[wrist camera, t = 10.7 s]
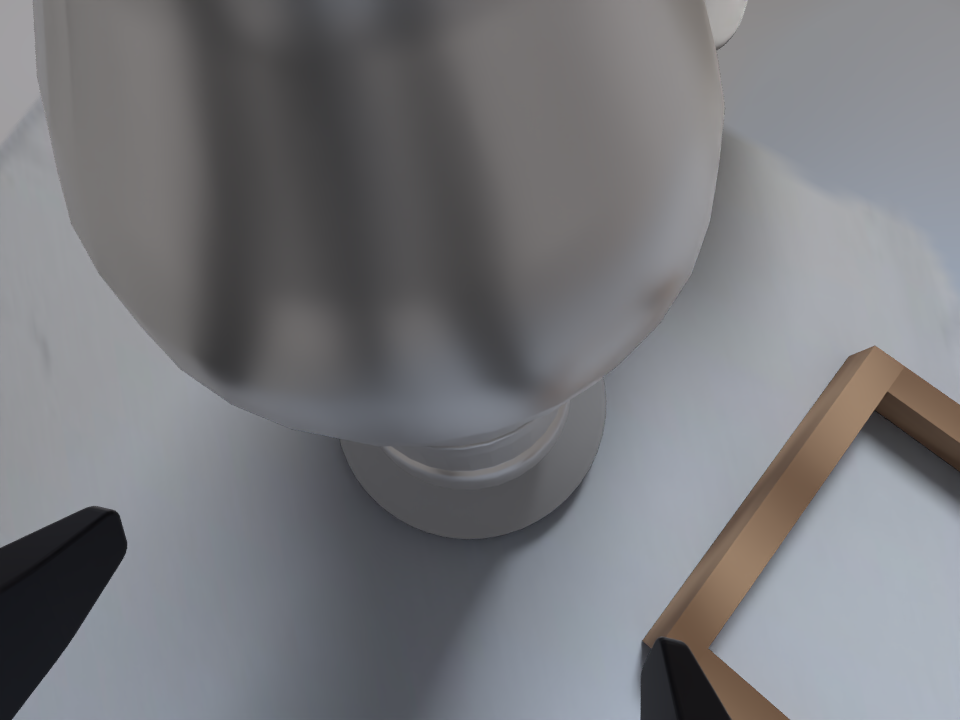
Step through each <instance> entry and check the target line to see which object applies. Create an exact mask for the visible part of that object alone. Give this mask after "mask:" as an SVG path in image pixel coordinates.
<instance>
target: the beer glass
mask: <svg viewBox="0 0 960 720" xmlns="http://www.w3.org/2000/svg"><path fill="white" fill-rule="evenodd" d="M704 1H705V5H706V9H707V13H708V17H709V22H710V26H711V30H712V34H713V39H714V43H715V47H716V50H718V49H720V48H721V47H722V46H724V45H725V44H726V43H727V42H728V41H729V40H730V39H731V37H732V36H733V35H734V33H735V32H736V30H737V28H738V27H739V24H740V22H741V20H742V17H743V14H744V11H745V8H746V4H747V1H748V0H704Z"/></svg>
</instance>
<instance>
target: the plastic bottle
mask: <svg viewBox="0 0 960 720" xmlns="http://www.w3.org/2000/svg"><path fill="white" fill-rule="evenodd" d="M33 13H34V30H35V31H34V32H35V50H36V67H37V79H38V83H39V88H40V93H41V97H42V102H43V107H44V111H45V116H46V121H47V125H48V130H49V135H50V139H51V144H52V149H53V153H54V158H55V163H56V167H57V172H58V175H59V179H60V183H61V187H62V191H63V194H64V198H65V202H66V206H67V210H68V213H69V217H70V221H71V224H72V226H73V228H74V230H75V231H76V233H77V235H78V237H79V239H80V240H81V242H82V244H83V246H84V248H85V249H86V251H87V253H88V255H89V257H90V258H91V260H92V262H93V264H94V266H95V267H96V269H97V271H98V273H99V275H100V276H101V277H102V278H103V280H104V281H105V282H106V283H107V285H108V286H109V287H110V288H111V290H112V291H113V292H114V294H115V295H116V296H117V297H118V299H119V300H120V301H121V302H122V304H123V305H124V306H125V307H126V309H127V310H128V311H129V312H130V314H131V315H132V316H133V317H134V319H135V320H136V321H137V322H138V324H139V325H140V326H141V327H142V328H143V329H144V331H145V332H146V333H147V334H148V335H149V336H150V337H151V338H152V339H153V340H154V341H155V342H156V344H157V345H158V346H159V347H160V348H161V349H162V350H163V351H164V352H165V353H166V354H167V355H168V357H169V358H170V359H171V360H172V361H173V362H174V363H175V364H176V365H177V366H178V367H179V368H180V369H181V370H182V371H184V372H185V373H186V374H188V375H189V376H191V377H192V378H194V379H195V380H197V381H198V382H200V383H201V384H202V385H204V386H205V387H207V388H208V389H210V390H211V391H213V392H214V393H216V394H217V395H218V396H220V397H221V398H223V399H224V400H226V401H227V402H229V403H230V404H232V405H234V406H237V407H239V408H241V409H244V410H246V411H249V412H251V413H254V414H256V415H258V416H261V417H263V418H266V419H268V420H271V421H273V422H275V423H278V424H280V425H283V426H285V427H288V428H290V429H293V430H298V431H303V432H308V433H314V434H319V435H323V436H328V437H334V438H339V439H344V440H349V441H354V442H359V443H365V444H370V445H375V446H380V447H381V448H382V450H383V451H384V452H385V453H386V454H387V455H388V456H389V457H390V458H391V459H392V460H393V461H394V462H395V463H396V464H397V465H398V466H399V467H400V468H402V469H403V470H405V471H406V472H408V473H409V474H411V475H412V476H414V477H416V478H418V479H420V480H423V481H425V482H428V483H430V484H433V485H435V486H441V487H446V488H451V489H482V488H487V487H492V486H497V485H500V484H503V483H505V482H507V481H510V480H512V479H515V478H517V477H519V476H520V475H522V474H523V473H525V472H526V471H528V470H529V469H531V468H532V467H534V466H535V465H536V464H537V463H538V462H539V461H540V460H541V459H542V458H543V457H544V456H545V455H546V454H547V453H548V452H549V451H550V450H551V448H552V447H553V445H554V444H555V442H556V441H557V439H558V437H559V436H560V434H561V432H562V429H563V427H564V424H565V422H566V419H567V416H568V411H569V405H570V400H571V399H572V398H574V397H575V396H577V395H578V394H580V393H582V392H583V391H585V390H586V389H588V388H589V387H591V386H592V385H594V384H595V383H597V382H598V381H599V380H600V379H601V378H602V377H604V376H605V375H606V374H607V373H609V372H610V371H612V370H613V369H614V368H616V367H617V366H618V365H619V364H620V363H621V362H622V361H623V360H624V359H625V358H626V357H627V356H628V355H629V354H630V353H631V352H632V351H633V350H634V349H635V348H636V347H637V346H638V345H639V344H640V343H641V342H642V341H643V340H644V339H645V338H646V337H647V336H648V335H649V334H650V333H651V332H652V331H653V330H654V329H655V328H656V327H657V326H658V325H659V324H660V323H661V321H662V320H663V318H664V316H665V315H666V313H667V312H668V310H669V309H670V307H671V305H672V304H673V302H674V301H675V299H676V298H677V296H678V294H679V293H680V291H681V290H682V288H683V287H684V285H685V284H686V282H687V280H688V279H689V277H690V276H691V274H692V272H693V269H694V266H695V263H696V260H697V257H698V255H699V252H700V249H701V246H702V243H703V240H704V238H705V235H706V232H707V229H708V226H709V223H710V219H711V213H712V207H713V200H714V194H715V188H716V181H717V175H718V169H719V163H720V153H721V143H722V133H723V123H724V112H725V104H724V97H723V90H722V84H721V76H720V70H719V63H718V56H717V51H716V47H715V43H714V39H713V34H712V30H711V26H710V22H709V17H708V13H707V9H706V5H705V1H704V0H33Z"/></svg>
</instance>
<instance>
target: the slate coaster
mask: <svg viewBox="0 0 960 720" xmlns="http://www.w3.org/2000/svg"><path fill="white" fill-rule="evenodd" d="M605 418H606V394H605V384H604V379H603V377H602V378H601V379H600V380H599V381H598V382H597V383H595V384H594V385H592V386H591V387H589V388H588V389H586V390H585V391H583V392H582V393H580V394H578V395H577V396H575V397H574V398H572V399H571V400H570V405H569V411H568V416H567V419H566V422H565V424H564V427H563V429H562V432H561V434H560V436H559V437H558V439H557V441H556V442H555V444H554V445H553V447H552V448H551V450H550V451H549V452H548V453H547V454H546V455H545V456H544V457H543V458H542V459H541V460H540V461H539V462H538V463H537V464H536V465H535V466H534V467H532V468H531V469H529V470H528V471H526V472H525V473H523V474H522V475H520V476H519V477H517V478H515V479H512V480H510V481H507V482H505V483H503V484H500V485H497V486H492V487H487V488H482V489H451V488H446V487H441V486H435V485H433V484H430V483H428V482H425V481H423V480H420V479H418V478H416V477H414V476H412V475H411V474H409V473H408V472H406V471H405V470H403V469H402V468H400V467H399V466H398V465H397V464H396V463H395V462H394V461H393V460H392V459H391V458H390V457H389V456H388V455H387V454H386V453H385V452H384V451H383V450H382V448H381V447H380V446H375V445H370V444H365V443H359V442H354V441H349V440H344V439H340V443H341V447H342V449H343V452H344V454H345V457H346V459H347V462H348V464H349V466H350V468H351V469H352V471H353V473H354V475H355V477H356V478H357V480H358V481H359V482H360V484H361V485H362V486H363V488H364V489H365V490H366V492H367V493H368V494H369V495H370V496H371V497H372V498H373V499H374V500H375V501H376V502H377V503H378V504H379V505H380V506H381V507H382V508H384V509H385V510H386V511H388V512H389V513H390V514H392V515H393V516H394V517H396V518H398V519H399V520H401V521H403V522H405V523H406V524H408V525H410V526H412V527H415V528H417V529H420V530H422V531H425V532H427V533H431V534H435V535H439V536H443V537H448V538H458V539H483V538H490V537H495V536H501V535H505V534H508V533H511V532H514V531H517V530H520V529H523V528H525V527H527V526H529V525H531V524H533V523H535V522H537V521H539V520H540V519H542V518H543V517H545V516H546V515H548V514H549V513H551V512H552V511H554V510H555V509H556V508H557V507H558V506H559V505H561V504H562V503H563V502H564V501H565V500H566V499H567V498H568V497H569V496H570V495H571V494H572V493H573V491H574V490H575V489H576V488H577V487H578V486H579V484H580V483H581V481H582V480H583V478H584V477H585V475H586V474H587V472H588V470H589V469H590V467H591V465H592V463H593V460H594V458H595V456H596V454H597V452H598V448H599V445H600V442H601V439H602V435H603V430H604V424H605Z"/></svg>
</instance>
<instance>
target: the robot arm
mask: <svg viewBox="0 0 960 720" xmlns="http://www.w3.org/2000/svg"><path fill="white" fill-rule="evenodd" d="M126 550H127V540H126V536H125V533H124V529H123V526H122V522H121V519H120V516H119V514H118V513H117V512H116V511H115V510H111V509H107V508H103V507H98V506H91V507H87V508H85V509H82V510H80V511H78V512H76V513H74V514H72V515H69V516H67V517H65V518H63V519H61V520H59V521H57V522H55V523H52V524H50V525H48V526H46V527H44V528H42V529H40V530H38V531H35V532H33V533H31V534H29V535H27V536H25V537H23V538H21V539H18V540H16V541H14V542H12V543H10V544H8V545H6V546H3V547H1V548H0V720H12V719H13V717H14V716H15V715H16V713H17V712H18V711H19V710H20V708H21V707H22V706H23V704H24V703H25V702H26V700H27V699H28V698H29V696H30V695H31V694H32V692H33V691H34V690H35V689H36V687H37V686H38V685H39V683H40V682H41V681H42V679H43V678H44V677H45V675H46V674H47V673H48V671H49V670H50V669H51V668H52V666H53V665H54V664H55V662H56V661H57V660H58V658H59V657H60V655H61V654H62V653H63V651H64V650H65V649H66V647H67V646H68V644H69V643H70V641H71V640H72V638H73V637H74V635H75V634H76V632H77V631H78V629H79V628H80V626H81V625H82V623H83V621H84V620H85V618H86V617H87V615H88V614H89V612H90V610H91V609H92V607H93V606H94V604H95V602H96V601H97V599H98V598H99V596H100V594H101V593H102V591H103V590H104V588H105V587H106V585H107V583H108V582H109V580H110V579H111V577H112V575H113V574H114V572H115V571H116V569H117V568H118V566H119V564H120V563H121V561H122V560H123V558H124V556H125V553H126ZM641 720H732V719H731V717H730V716H729V714H728V712H727V711H726V709H725V707H724V706H723V704H722V702H721V700H720V699H719V697H718V695H717V694H716V692H715V690H714V689H713V687H712V685H711V684H710V682H709V680H708V678H707V677H706V675H705V673H704V672H703V670H702V668H701V667H700V665H699V663H698V662H697V660H696V658H695V657H694V655H693V653H692V651H691V650H690V648H689V647H688V646H687V644H685V643H684V642H683V641H680V640H676V639H671V638H667V637H662V636H660V637H658V638H657V639H656V641H655V642H654V644H653V646H652V648H651V650H650V652H649V655H648V657H647V659H646V661H645V663H644V665H643V668H642V673H641Z"/></svg>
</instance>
